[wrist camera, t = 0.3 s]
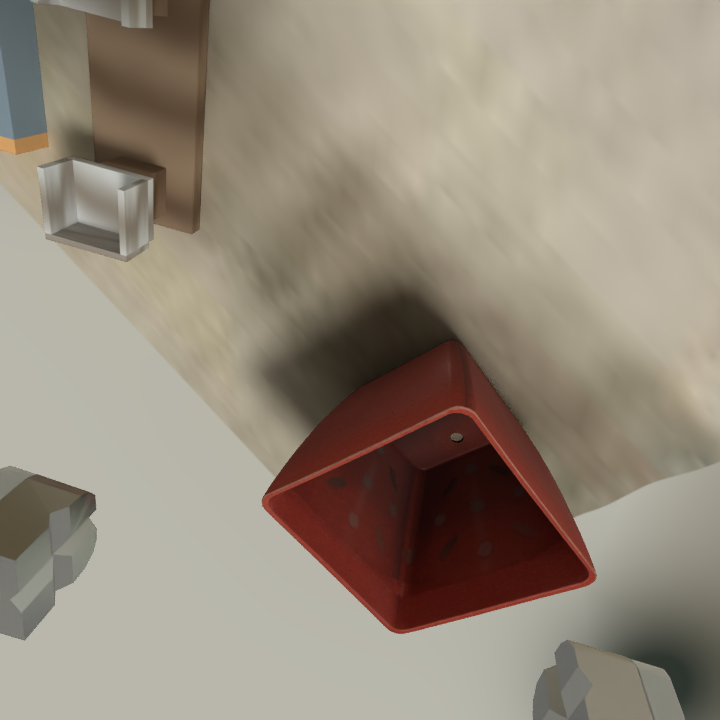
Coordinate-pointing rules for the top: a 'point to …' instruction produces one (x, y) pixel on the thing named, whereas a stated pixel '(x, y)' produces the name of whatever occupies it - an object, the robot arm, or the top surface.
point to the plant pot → (430, 499)
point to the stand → (134, 128)
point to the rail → (20, 80)
